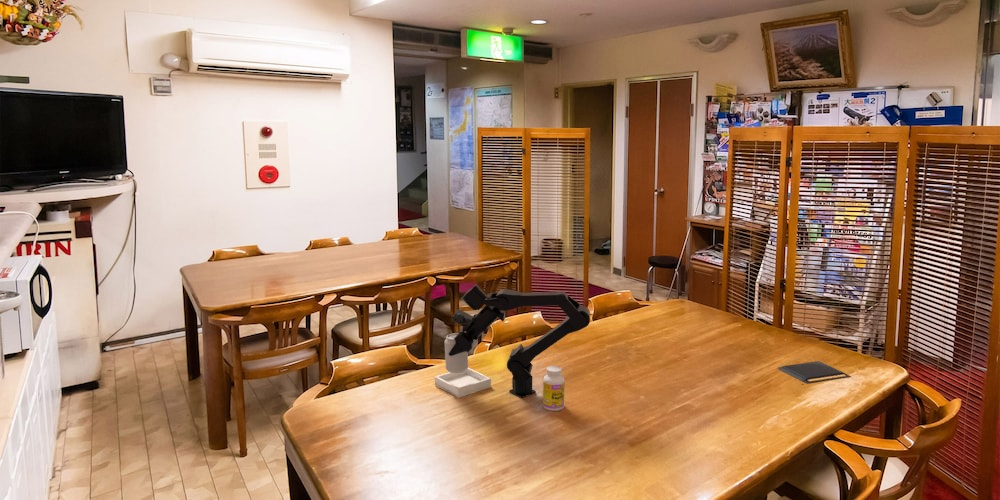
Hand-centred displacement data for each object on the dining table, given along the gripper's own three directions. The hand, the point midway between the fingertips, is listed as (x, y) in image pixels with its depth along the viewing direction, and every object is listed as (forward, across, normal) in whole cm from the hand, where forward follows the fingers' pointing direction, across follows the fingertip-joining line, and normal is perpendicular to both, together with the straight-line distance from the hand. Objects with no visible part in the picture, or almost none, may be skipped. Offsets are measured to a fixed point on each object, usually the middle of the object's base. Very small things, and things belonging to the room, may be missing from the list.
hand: (452, 350), depth 205 cm
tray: (+8, -2, +11) cm, 14 cm away
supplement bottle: (-14, +9, +34) cm, 38 cm away
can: (+4, 0, +6) cm, 7 cm away
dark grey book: (-75, -33, +100) cm, 129 cm away
